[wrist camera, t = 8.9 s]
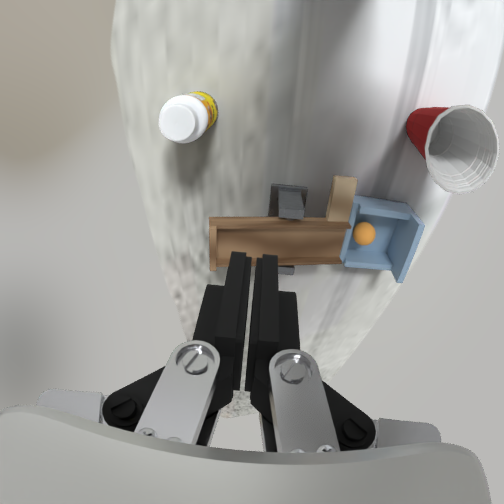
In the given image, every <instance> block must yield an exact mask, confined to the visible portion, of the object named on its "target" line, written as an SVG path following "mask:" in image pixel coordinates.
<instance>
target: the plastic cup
mask: <svg viewBox="0 0 504 504" xmlns="http://www.w3.org/2000/svg"><path fill="white" fill-rule="evenodd" d="M406 129H407V134H408V136H409V138H410V140H411V141H412V143H413V144H414V145H415V146H416V148H417V149H418V151H419V152H420V153H421V155H422V156H423V157H424V159H425V160H426V166H427V168H428V170H429V172H430V174H431V176H432V178H433V180H434V182H435V183H436V184H438V185H439V186H440V187H441V188H442V189H444V190H445V191H447V192H451V193H455V194H464V193H468V192H473V191H474V190H476V189H477V188H479V187H480V186H482V185H483V184H484V183H485V182H486V181H487V180H488V178H489V177H490V175H491V174H492V173H493V171H494V169H495V166H496V163H497V159H498V156H499V138H498V135H497V132H496V129H495V127H494V124H493V122H492V121H491V119H490V118H489V117H488V116H487V115H486V114H485V113H484V112H483V110H480V109H478V108H476V107H473V106H471V105H459V106H452V107H450V108H446V107H432V108H420V109H417V110H415V111H414V112H412V113H411V114H410V116H409V118H408V119H407V125H406Z"/></svg>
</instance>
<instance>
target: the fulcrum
mask: <svg viewBox="0 0 504 504" xmlns="http://www.w3.org/2000/svg"><path fill="white" fill-rule="evenodd" d="M307 190H308V189H307V187H299V186H290V185H281V184H272V185H271V195H270V204H269V214H268V217H282V218H292V219H302V220H303V218H304V212H305V210H304V208H305V202H306V196H307ZM293 273H294V265H280V266H278V274H285V275H293Z"/></svg>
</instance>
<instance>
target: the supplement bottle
mask: <svg viewBox="0 0 504 504" xmlns="http://www.w3.org/2000/svg"><path fill="white" fill-rule="evenodd" d="M217 116H218V106H217V103H216V101H215V100H214V99H213V97H211V96H210V95H209V94H207V93H204V92H198V91H197V92H191V93H187V94H183V95H179V96H176V97H174V98H172V99H170V100H169V101H167V102H166V103H165V104H164V106H163V107H162V109H161V111H160V115H159V129H160V131H161V133H162V134H163V136H165V137H166V138H167V139H169V140H171V141H174V142H177V143H189V142H192V141H195V140H196V139H198V138H199V137H200V136H201V135H202V134H203V133H204V132H206V131H207V130H208V129H209V128H210V127H211V126H212V125H213V124H214V122H215V121H216V119H217Z"/></svg>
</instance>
